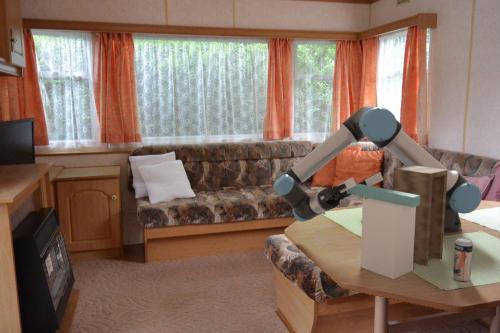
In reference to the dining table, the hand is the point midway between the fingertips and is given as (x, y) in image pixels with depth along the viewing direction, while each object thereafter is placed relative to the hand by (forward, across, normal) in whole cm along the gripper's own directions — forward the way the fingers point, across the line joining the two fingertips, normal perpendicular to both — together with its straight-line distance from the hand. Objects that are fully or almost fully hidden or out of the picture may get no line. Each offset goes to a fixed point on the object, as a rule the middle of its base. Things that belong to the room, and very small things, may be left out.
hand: (368, 178), depth 139 cm
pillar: (-7, 0, -28) cm, 29 cm away
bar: (+2, 0, -8) cm, 8 cm away
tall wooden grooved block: (-7, -16, -28) cm, 33 cm away
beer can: (+9, -11, -37) cm, 40 cm away
